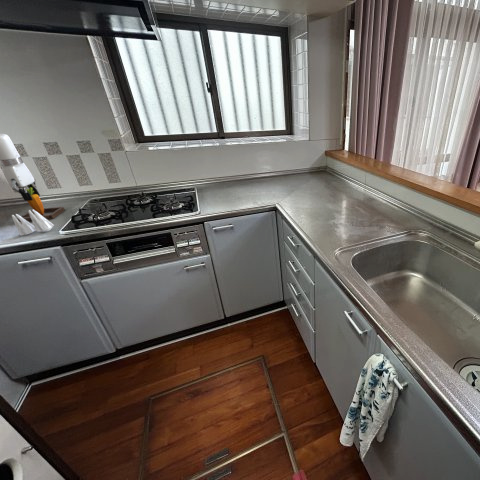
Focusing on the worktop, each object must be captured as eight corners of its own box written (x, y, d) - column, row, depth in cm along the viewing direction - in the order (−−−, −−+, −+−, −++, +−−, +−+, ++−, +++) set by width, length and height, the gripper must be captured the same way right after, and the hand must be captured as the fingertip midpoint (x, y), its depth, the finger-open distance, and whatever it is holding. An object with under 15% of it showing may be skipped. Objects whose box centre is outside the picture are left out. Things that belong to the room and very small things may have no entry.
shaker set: (56, 228, 128) (44, 206, 122) (51, 232, 124) (39, 210, 119) (25, 232, 125) (11, 210, 119) (19, 236, 121) (5, 213, 116)
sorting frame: (18, 222, 133) (16, 219, 132) (34, 212, 144) (32, 209, 143) (52, 219, 136) (50, 215, 135) (65, 209, 147) (63, 206, 146)
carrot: (34, 218, 137) (17, 190, 130) (39, 214, 141) (23, 186, 134) (45, 216, 138) (29, 189, 131) (51, 212, 142) (35, 185, 135)
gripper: (14, 158, 132) (34, 193, 141) (-13, 167, 118) (11, 205, 127) (32, 157, 134) (51, 191, 143) (8, 166, 119) (30, 203, 129)
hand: (32, 197), depth 135 cm, fingers closed on carrot, 5 cm apart
